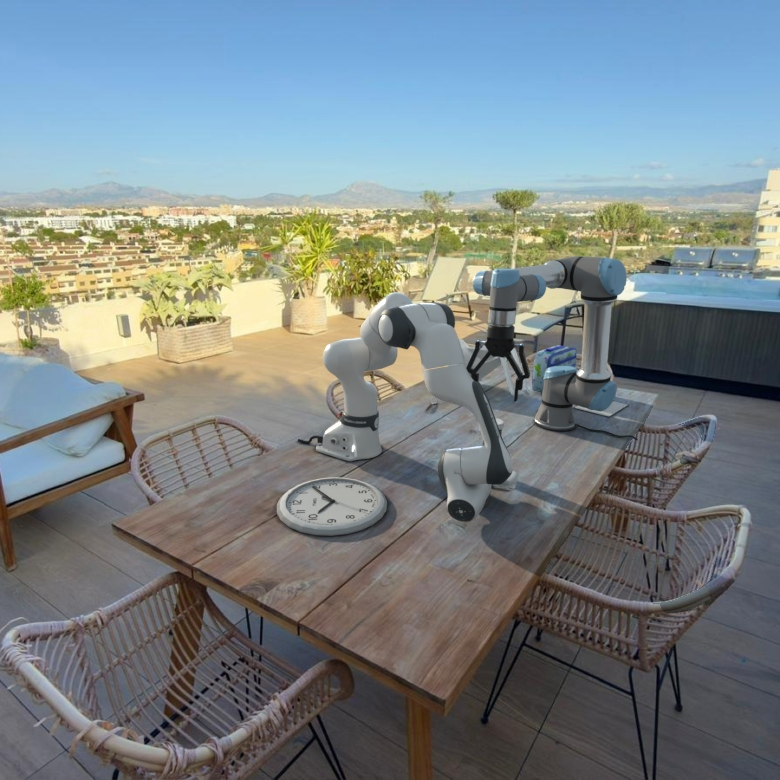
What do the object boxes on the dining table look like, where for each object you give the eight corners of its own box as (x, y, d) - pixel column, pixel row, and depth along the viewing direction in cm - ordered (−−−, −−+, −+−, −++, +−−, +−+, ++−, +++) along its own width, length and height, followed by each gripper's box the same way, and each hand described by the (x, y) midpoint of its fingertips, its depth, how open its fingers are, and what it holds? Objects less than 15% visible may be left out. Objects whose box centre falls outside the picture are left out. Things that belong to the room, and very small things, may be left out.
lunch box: (548, 398, 236) (553, 353, 229) (527, 393, 243) (531, 349, 237) (575, 387, 253) (581, 344, 247) (555, 382, 260) (560, 341, 254)
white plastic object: (461, 429, 252) (437, 405, 227) (444, 352, 274) (420, 323, 250) (535, 404, 240) (518, 377, 215) (510, 326, 262) (492, 293, 237)
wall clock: (392, 527, 129) (268, 531, 127) (391, 533, 130) (269, 537, 127) (383, 473, 158) (282, 475, 155) (383, 478, 158) (282, 480, 156)
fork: (422, 411, 216) (422, 407, 215) (433, 400, 230) (433, 396, 230) (428, 412, 215) (429, 407, 215) (438, 401, 230) (439, 396, 229)
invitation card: (608, 416, 214) (573, 407, 224) (608, 416, 214) (573, 408, 224) (628, 404, 229) (594, 396, 238) (628, 405, 229) (594, 397, 238)
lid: (488, 431, 154) (489, 425, 153) (479, 424, 160) (480, 418, 159) (506, 429, 156) (507, 423, 155) (497, 422, 161) (497, 416, 161)
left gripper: (515, 480, 139) (522, 460, 151) (440, 466, 146) (454, 448, 158) (512, 502, 140) (520, 480, 153) (439, 487, 148) (453, 467, 160)
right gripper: (545, 325, 148) (537, 398, 155) (463, 319, 155) (459, 389, 162) (543, 330, 141) (535, 406, 148) (457, 323, 149) (453, 396, 155)
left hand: (486, 463), depth 155 cm, fingers open, 8 cm apart
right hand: (495, 397), depth 155 cm, fingers open, 11 cm apart
